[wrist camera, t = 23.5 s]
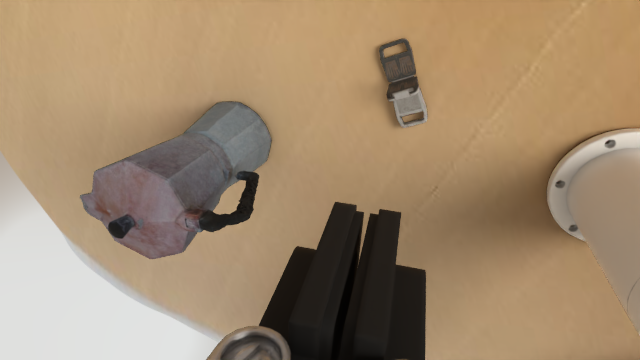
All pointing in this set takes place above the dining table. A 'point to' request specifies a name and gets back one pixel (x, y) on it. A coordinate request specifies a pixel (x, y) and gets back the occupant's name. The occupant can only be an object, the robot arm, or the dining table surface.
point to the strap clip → (403, 84)
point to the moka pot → (181, 182)
